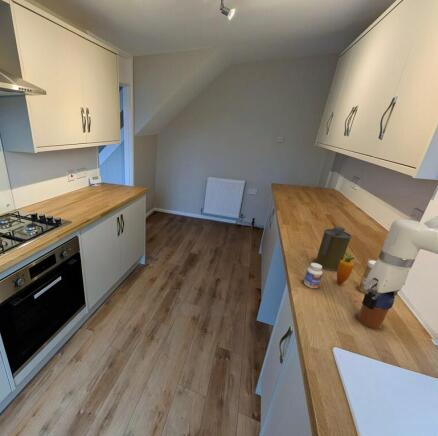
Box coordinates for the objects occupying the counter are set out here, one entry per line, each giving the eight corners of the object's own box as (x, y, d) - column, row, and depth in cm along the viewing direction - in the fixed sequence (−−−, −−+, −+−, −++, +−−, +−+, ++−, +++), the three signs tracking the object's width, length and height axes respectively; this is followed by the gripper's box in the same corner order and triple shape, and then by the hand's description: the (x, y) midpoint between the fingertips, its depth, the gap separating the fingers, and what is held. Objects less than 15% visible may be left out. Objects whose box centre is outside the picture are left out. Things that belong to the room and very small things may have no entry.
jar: (366, 314, 86) (376, 290, 82) (385, 327, 80) (397, 302, 77) (352, 316, 85) (362, 292, 81) (371, 330, 79) (382, 304, 75)
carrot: (348, 288, 100) (360, 257, 95) (334, 286, 102) (345, 255, 96) (343, 281, 104) (354, 251, 99) (330, 279, 106) (340, 249, 101)
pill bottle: (311, 289, 99) (317, 269, 96) (300, 282, 104) (305, 262, 100) (321, 287, 100) (327, 267, 97) (310, 280, 105) (315, 261, 102)
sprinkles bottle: (359, 292, 98) (371, 264, 93) (356, 286, 102) (366, 258, 97) (374, 295, 96) (386, 266, 91) (369, 289, 100) (381, 261, 95)
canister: (323, 258, 124) (334, 222, 117) (345, 268, 115) (358, 230, 108) (309, 261, 120) (319, 225, 113) (330, 272, 111) (343, 233, 104)
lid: (358, 295, 83) (360, 288, 82) (377, 295, 83) (380, 288, 82) (376, 309, 76) (379, 302, 75) (397, 309, 76) (400, 302, 75)
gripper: (402, 250, 79) (383, 294, 85) (361, 255, 75) (344, 301, 82) (431, 262, 72) (408, 309, 78) (388, 268, 69) (367, 316, 75)
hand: (376, 304), depth 80 cm, fingers closed on lid, 6 cm apart
